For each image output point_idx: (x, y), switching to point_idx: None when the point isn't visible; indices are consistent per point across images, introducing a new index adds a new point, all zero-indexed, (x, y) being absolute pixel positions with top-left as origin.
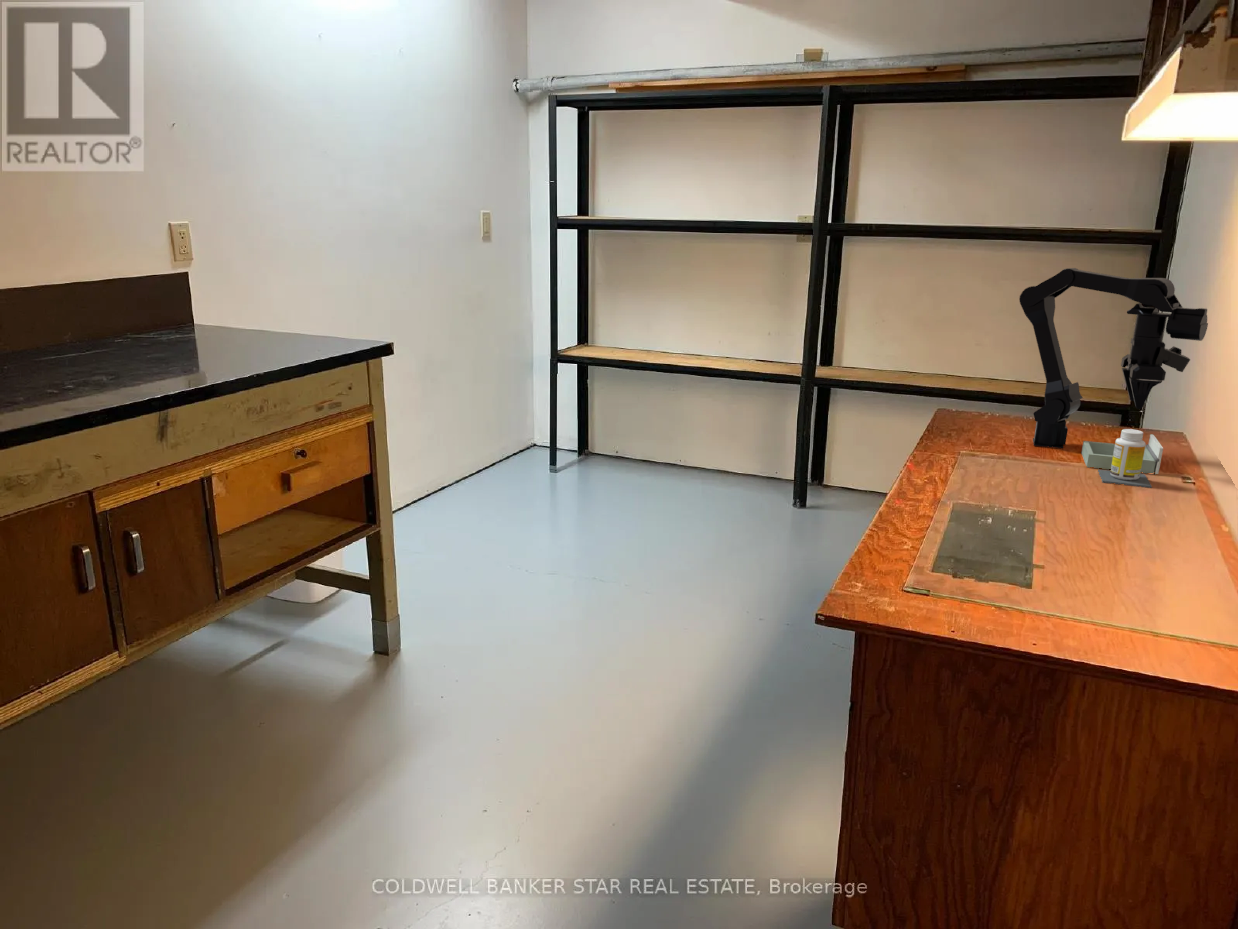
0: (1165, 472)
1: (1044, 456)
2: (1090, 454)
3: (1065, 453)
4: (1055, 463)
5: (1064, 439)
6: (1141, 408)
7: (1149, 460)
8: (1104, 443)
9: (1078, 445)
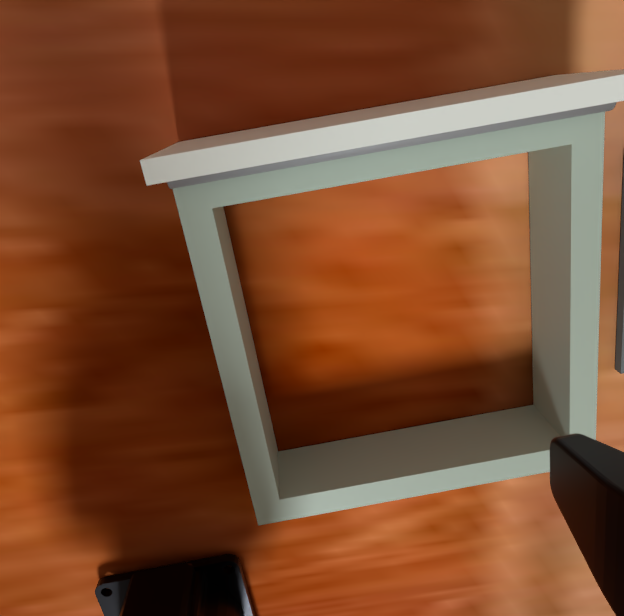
0: (471, 30)
1: (434, 586)
2: None
3: (317, 529)
4: (544, 533)
5: (189, 592)
6: (580, 435)
7: (602, 145)
8: (257, 425)
9: (85, 506)
